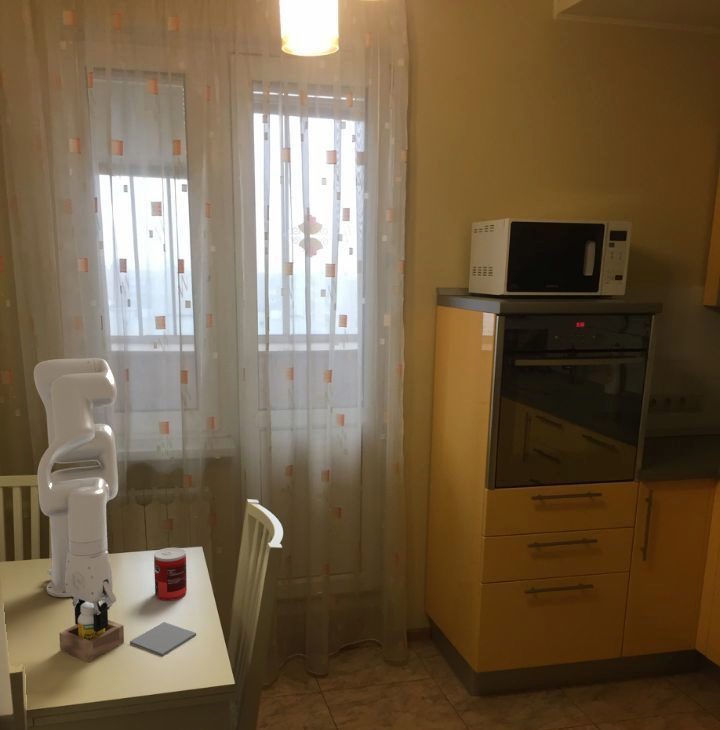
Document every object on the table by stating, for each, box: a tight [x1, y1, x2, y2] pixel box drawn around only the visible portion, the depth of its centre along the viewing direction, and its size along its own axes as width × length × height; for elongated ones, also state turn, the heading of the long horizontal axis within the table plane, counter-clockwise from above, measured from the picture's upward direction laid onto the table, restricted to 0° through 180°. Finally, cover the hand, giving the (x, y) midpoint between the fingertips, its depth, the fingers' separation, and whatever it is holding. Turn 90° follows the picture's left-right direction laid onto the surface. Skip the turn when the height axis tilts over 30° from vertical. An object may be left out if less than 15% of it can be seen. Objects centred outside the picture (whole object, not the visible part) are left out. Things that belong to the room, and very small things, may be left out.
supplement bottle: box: [78, 601, 105, 640], centre depth 143 cm, size 5×5×10 cm
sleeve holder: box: [58, 619, 125, 663], centre depth 143 cm, size 9×9×4 cm
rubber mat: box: [129, 621, 197, 657], centre depth 147 cm, size 10×10×1 cm
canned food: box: [153, 547, 188, 602], centre depth 168 cm, size 8×8×11 cm
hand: (91, 624), depth 143 cm, fingers closed on supplement bottle, 5 cm apart
